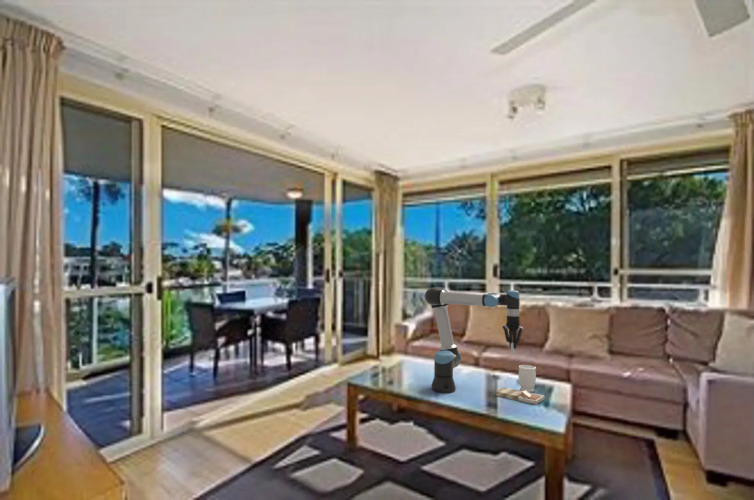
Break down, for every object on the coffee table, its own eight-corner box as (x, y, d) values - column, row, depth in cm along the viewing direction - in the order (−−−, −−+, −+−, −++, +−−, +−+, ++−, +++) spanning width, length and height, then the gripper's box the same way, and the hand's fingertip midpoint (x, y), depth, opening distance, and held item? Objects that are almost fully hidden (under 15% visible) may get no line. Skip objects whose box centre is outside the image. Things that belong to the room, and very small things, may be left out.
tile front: (536, 398, 256) (536, 401, 256) (539, 396, 259) (539, 399, 259) (529, 396, 258) (529, 399, 258) (532, 395, 262) (532, 398, 262)
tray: (518, 401, 258) (518, 397, 258) (527, 395, 268) (527, 392, 269) (535, 404, 251) (535, 401, 251) (544, 399, 262) (544, 395, 262)
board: (495, 395, 268) (495, 391, 268) (504, 391, 277) (504, 387, 277) (517, 400, 259) (517, 396, 259) (525, 395, 268) (525, 391, 268)
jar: (514, 388, 283) (515, 365, 283) (527, 387, 287) (527, 364, 287) (526, 393, 273) (526, 369, 273) (539, 391, 277) (539, 367, 277)
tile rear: (520, 394, 262) (522, 391, 261) (523, 392, 265) (525, 390, 265) (527, 399, 259) (528, 397, 259) (530, 397, 263) (531, 395, 262)
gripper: (500, 315, 275) (500, 353, 275) (520, 317, 267) (520, 356, 266) (505, 314, 281) (505, 351, 280) (525, 315, 272) (525, 354, 272)
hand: (512, 353), depth 273 cm, fingers closed
